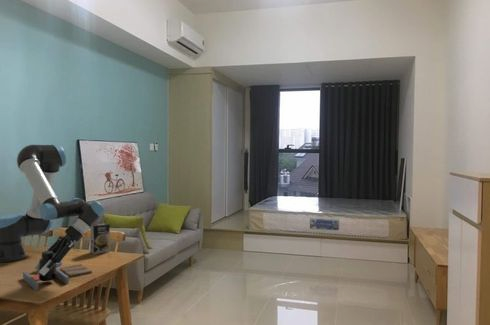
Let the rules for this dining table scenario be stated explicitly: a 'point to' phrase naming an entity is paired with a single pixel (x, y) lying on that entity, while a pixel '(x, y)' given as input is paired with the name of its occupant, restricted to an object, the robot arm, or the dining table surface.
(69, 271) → the walnut pad
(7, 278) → the dining table surface
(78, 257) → the dining table surface
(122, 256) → the dining table surface
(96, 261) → the dining table surface
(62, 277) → the channel
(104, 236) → the coffee box
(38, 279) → the pad
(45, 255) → the supplement bottle
